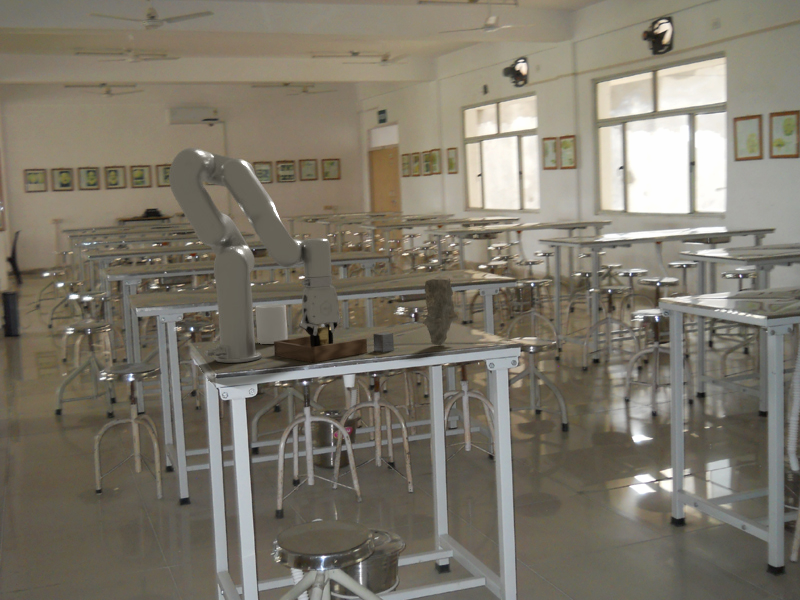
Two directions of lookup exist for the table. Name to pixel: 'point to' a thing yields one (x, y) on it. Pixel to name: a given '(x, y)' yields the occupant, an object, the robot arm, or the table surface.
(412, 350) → the table surface
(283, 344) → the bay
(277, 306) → the white box
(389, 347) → the steel block
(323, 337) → the brass part
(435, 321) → the stone tool
